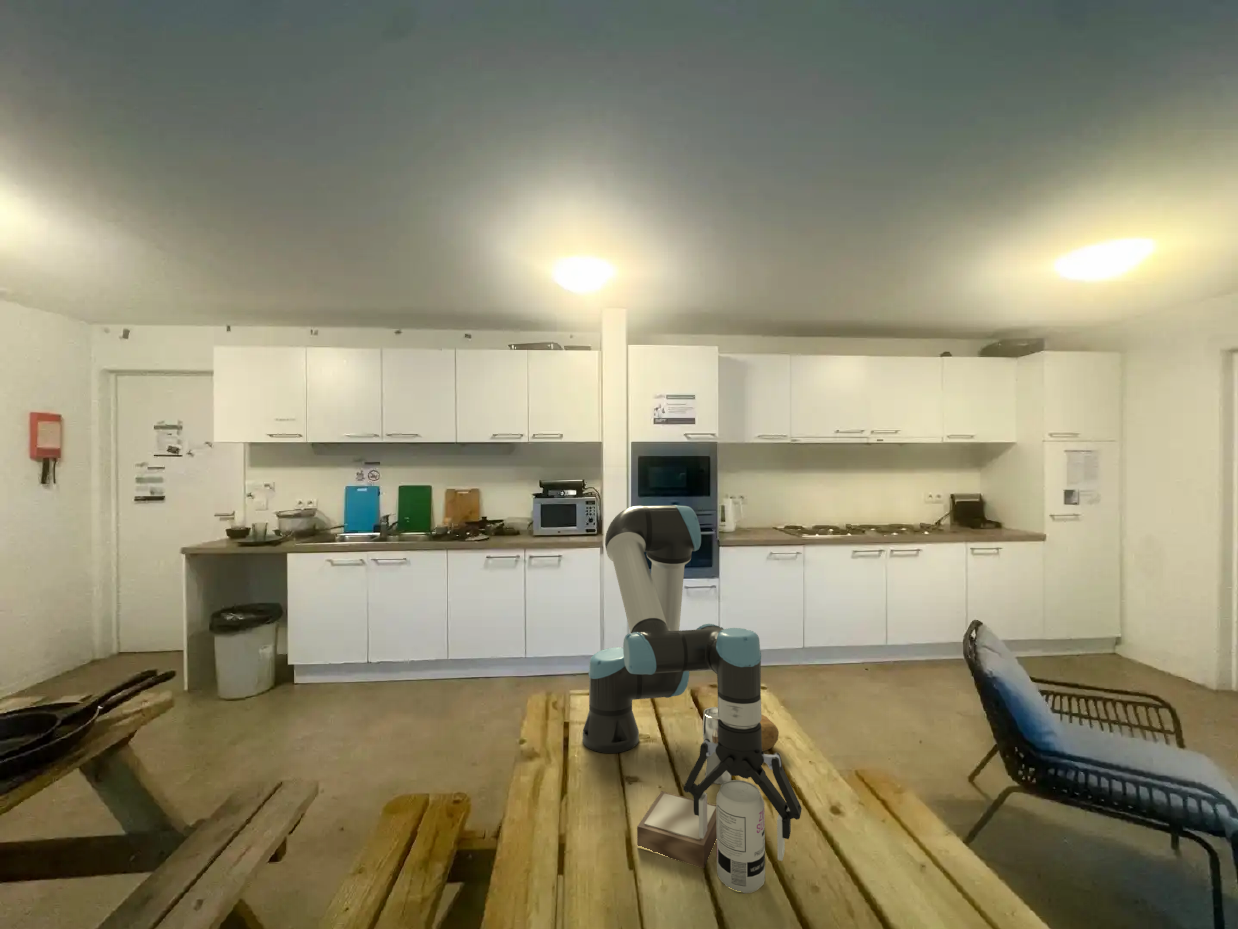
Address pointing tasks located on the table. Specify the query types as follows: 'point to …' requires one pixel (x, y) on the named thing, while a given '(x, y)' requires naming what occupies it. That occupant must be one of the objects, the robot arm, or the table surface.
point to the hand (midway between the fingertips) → (741, 844)
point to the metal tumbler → (712, 734)
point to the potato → (768, 733)
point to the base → (677, 829)
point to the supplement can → (740, 836)
